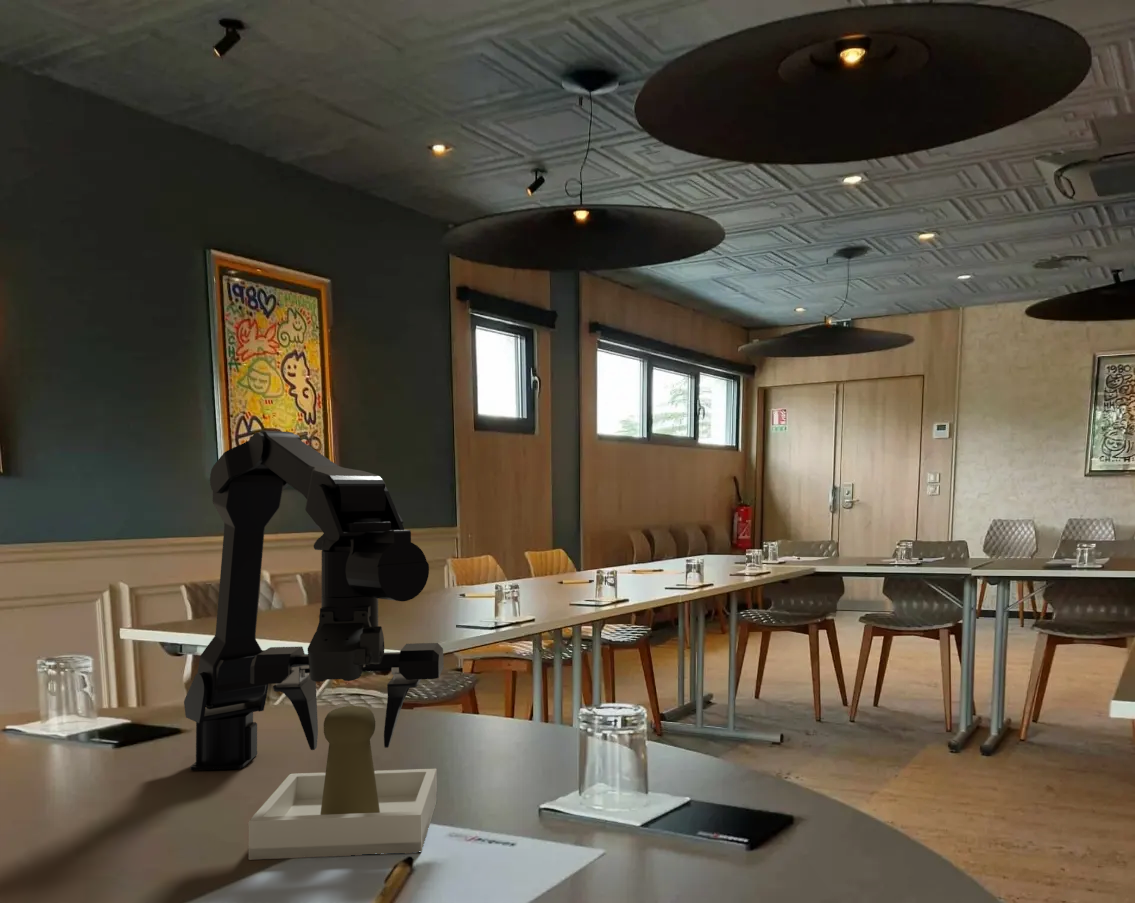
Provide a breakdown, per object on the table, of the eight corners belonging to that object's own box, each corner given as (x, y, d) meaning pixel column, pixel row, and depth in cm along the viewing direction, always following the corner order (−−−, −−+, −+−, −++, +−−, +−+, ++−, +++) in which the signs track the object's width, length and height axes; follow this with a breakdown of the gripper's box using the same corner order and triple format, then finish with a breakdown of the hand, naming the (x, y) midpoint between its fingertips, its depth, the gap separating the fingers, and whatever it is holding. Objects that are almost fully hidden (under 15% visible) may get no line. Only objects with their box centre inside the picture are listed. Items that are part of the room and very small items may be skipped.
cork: (365, 830, 83) (364, 716, 83) (308, 827, 84) (307, 714, 84) (389, 808, 89) (388, 701, 89) (336, 805, 90) (335, 700, 90)
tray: (248, 859, 79) (248, 821, 79) (290, 806, 93) (290, 773, 93) (421, 852, 79) (420, 814, 80) (436, 800, 93) (436, 768, 94)
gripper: (231, 606, 79) (230, 776, 78) (431, 601, 80) (433, 769, 79) (267, 593, 90) (267, 742, 89) (443, 589, 91) (444, 736, 90)
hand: (350, 747), depth 87 cm, fingers open, 7 cm apart
